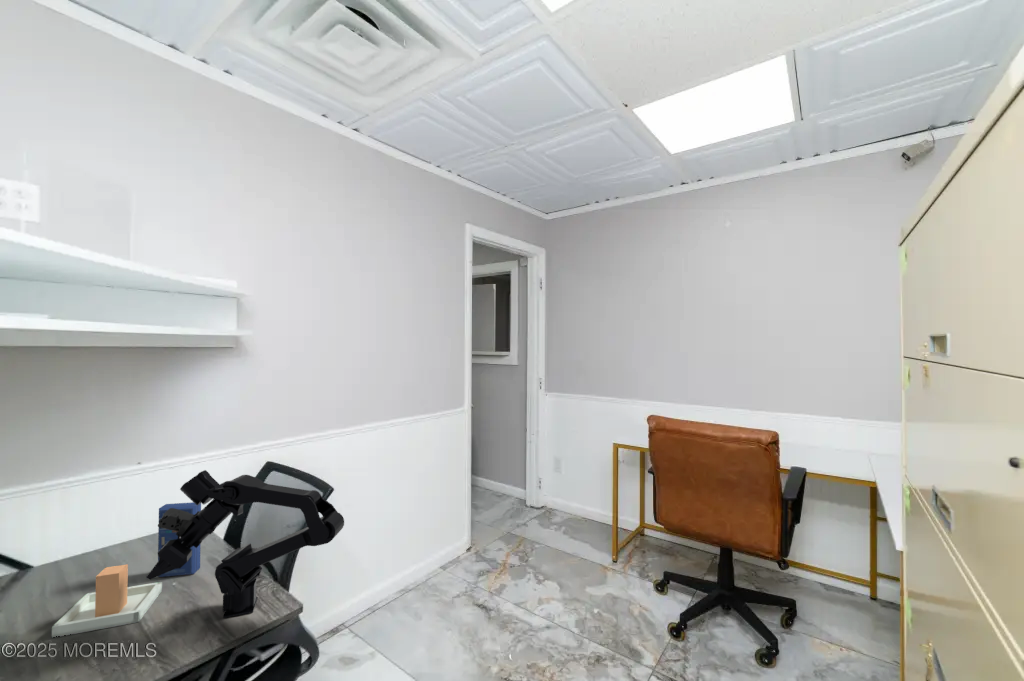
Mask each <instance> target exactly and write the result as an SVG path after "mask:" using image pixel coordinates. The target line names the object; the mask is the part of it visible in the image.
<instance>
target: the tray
mask: <svg viewBox="0 0 1024 681" xmlns="http://www.w3.org/2000/svg"><path fill="white" fill-rule="evenodd" d="M162 592H163V581H159V582H152V583H146V584H138V585H133V586H127V604H126V605H125V606H124V607H123V609H122V610H121V611H120V612H119V613H117V614H112V615H106V616H100V617H95V599H96V591H94V592H87V593H85V595H84V596H83V597H82V598H80V599H79V600H78V601H77V602H76V603H75V604H74V605H73V606H72V607H71V608H70V609H69V610H68V611H66V613H65V614H64V615H63V616H62V617H61V618H60V619H59V620H58V621H56V622H55V623H54V624H53V625H52V626H51V638H52V639H54V638H53V637H55V638H58V636H60V637H65V636H64V635H66V636H69V635H70V634H71V635H76V634H81V633H86V632H91V631H97V630H103V629H107V628H108V629H109V628H114V627H120V626H124V625H131V624H136V623H139V622H140V621H141V620H142V618H143V617H144V616H145V615H146V613H147V612H148V610H149V609H150V608H151V606H152V605H153V603H154V602H155V601H156V600H157V598H158V597H159V596H160V594H161V593H162ZM71 635H70V636H71ZM56 636H57V637H56Z"/></svg>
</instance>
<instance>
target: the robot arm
mask: <svg viewBox="0 0 1024 681" xmlns="http://www.w3.org/2000/svg"><path fill="white" fill-rule="evenodd" d="M179 488H180V489H179V490H180V491H181V492H182V493H183V494H184V495H185V496H186V497H187V498H188V499H190V500H191V501H192V502H194V503H195V504H196V505H197V506H198V505H199V504H200V503H201V505H202V506H203V505H205V506H204V507H203V508H201V511H200V512H199V511H198V512H197V513H196V514H195V515H194V514H191V513H189V512H186V511H182V510H178V509H175V508H170V509H168V510H167V511H166V512H165V513H164V515H163V517H162V518H161V520H160V521H159V520H158V524H157V527H158V528H159V527H160V528H165V529H168V530H174V531H178V532H177V533H176V534H175V535H177V536H178V539H175V540H170V541H169V542H167V543H166V544H165V545H164V546H163V547H162V548H161V549H160V551H159V552H158V551H157V557H158V556H159V561H158V560H157V562H156V564H155V565H154V566H153V567H152V569H151V570H150V572H149V573H148V574H147V576H146V578H147V580H152V579H153V580H154V579H155V578H159V577H158V576H160V575H162V574H164V573H167V572H169V571H171V570H174V569H178V568H181V567H182V566H183V565H184V564H185V563H186V562H187V561H188V560H189V558H190V557H191V556H192V550H191V549H190V548H191V547H193V546H194V547H196V548H197V547H198V546H199V545H200V546H201V544H202V542H203V541H204V540H206V538H207V537H208V536H209V535H212V534H213V533H214V532H215V530H216V529H217V528H218V526H220V525H221V524H222V523H223V522H224V521H225V520H226V519H227V518H228V517H229V516H230V515H231V514H233V516H235V517H237V516H240V515H241V514H243V513H244V505H246V504H251V503H252V504H253V503H259V504H265V505H266V504H268V505H274V506H278V507H280V506H281V507H286V508H293V509H299V510H300V511H301V512H302V513H303V516H304V520H305V523H306V527H304V528H302V529H300V530H297V531H295V532H293V533H291V534H288V535H286V536H283V537H281V538H278V539H276V540H274V541H272V542H269V543H267V544H264V545H262V546H259V547H252V544H251V543H248V544H247V545H245V546H243V547H237V548H236V549H235V550H233V551H232V552H231V553H230V554H228V555H226V556H225V557H224V558H223V559H222V560H221V563H219V564H218V565H217V566H216V567H215V571H214V577H215V580H216V581H217V584H218V587H219V590H220V592H221V594H223V595H222V612H223V615H222V617H223V619H226V618H230V617H231V618H232V617H237V616H242V615H246V614H252V613H254V610H255V608H256V605H257V602H258V600H257V599H259V598H258V596H257V578H258V577H260V575H261V573H262V570H263V567H262V565H264V564H266V563H269V562H271V561H273V560H276V559H278V558H281V557H283V556H286V555H288V554H290V553H293V552H295V551H297V550H299V549H301V548H305V547H317V546H322V545H326V544H328V543H330V542H332V541H333V539H334V538H335V537H336V536H337V535H338V534H339V533H340V532H341V531H342V529H343V528H344V526H345V519H344V517H343V516H344V515H342V514H341V513H340V512H338V511H337V509H336V508H335V506H334V505H333V504H332V503H330V502H329V501H328V500H326V499H325V498H324V497H323V496H322V495H321V493H320V492H319V491H317V490H307V489H300V488H295V487H291V486H290V487H289V486H283V485H282V486H281V485H276V484H270V483H267V482H264V481H262V479H260V478H258V477H255V476H252V475H250V474H242V475H240V476H238V477H235V478H232V479H231V480H226V481H224V482H222V483H219V482H218V481H217V480H215V478H213V476H212V475H211V474H210V473H209V472H208V471H207V470H206V469H204V470H201V471H200V472H198V473H197V474H196V475H195V476H193V477H192V478H190V479H189V480H188V481H186V482H184V483H183V484H182V485H181V487H179ZM206 504H207V505H206ZM320 514H321V515H322V516H321V517H320Z"/></svg>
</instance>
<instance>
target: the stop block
mask: <svg viewBox="0 0 1024 681" xmlns="http://www.w3.org/2000/svg"><path fill="white" fill-rule="evenodd" d="M128 569H129V564H122V565H114V566H108V567H104V568H103V570H101V571H100V572H99V573H98V574H97V575H96V576H95V592H96V599H95V617H100V616H106V615H112V614H117V613H119V612H120V611H121V610H122V609H123V607H124V606H125V605H126V604H127V587H128V579H129V578H128V577H129V576H128V575H129V570H128Z"/></svg>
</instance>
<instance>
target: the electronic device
mask: <svg viewBox="0 0 1024 681" xmlns="http://www.w3.org/2000/svg"><path fill="white" fill-rule="evenodd" d="M170 508H175V509H178V510H182V511H186V512H189V513H191V514H194V515H195V514H196V513H197V512H198V511H199V512H200V511H201V510H202V503H200V504H199V505H198V506H197V505H196V504H195V503H194V502H193V501H192V502H180V503H179V502H178V503H166V504H165V503H164V505H162V506H160V507H159V508H158V522H159V521H160V520H161V518H162V517H163V515H164V513H165V512H166V511H167V510H168V509H170ZM157 529H158V530H157V531H158V538H157V553H158V552H159V551H160V549H161V548H162V547H163V546H164V545H165V544H166V543H167V542H169V541H170V540H175V539H178V536H177V535H175V534H176V533H177V532H178V531H174V530H168V529H165V528H160V527H158V528H157ZM190 549H191V550H192V556H191V557H190V558H189V560H188V561H187V562H186V563H185V564H184V565H183V566H182V567H181V568H178V569H174V570H171V571H169V572H167V573H164V574H162V575H160V576H158V577H157V578H163V577H173V576H174V577H175V576H185V575H195V574H196V573H197V572H198V571H199V569H201V544H200V545H199V546H198V547H197V548H196V547H194V546H193V547H191V548H190ZM158 561H159V556H158V555H157V562H158Z"/></svg>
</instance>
